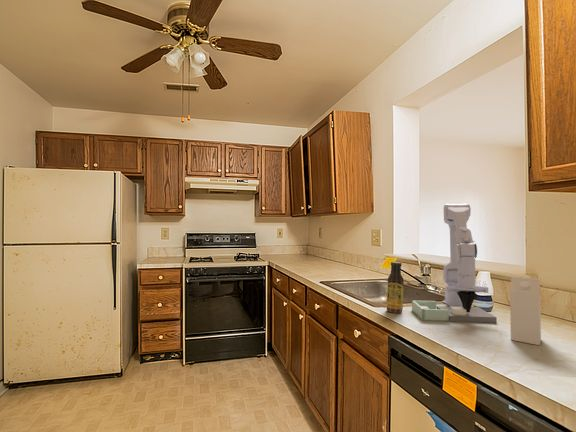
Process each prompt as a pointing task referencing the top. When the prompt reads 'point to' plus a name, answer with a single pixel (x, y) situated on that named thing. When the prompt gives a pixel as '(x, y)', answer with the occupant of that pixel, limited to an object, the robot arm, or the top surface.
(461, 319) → the board
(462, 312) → the tile
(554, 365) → the top surface
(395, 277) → the sauce bottle
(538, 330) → the milk carton
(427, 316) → the tray
